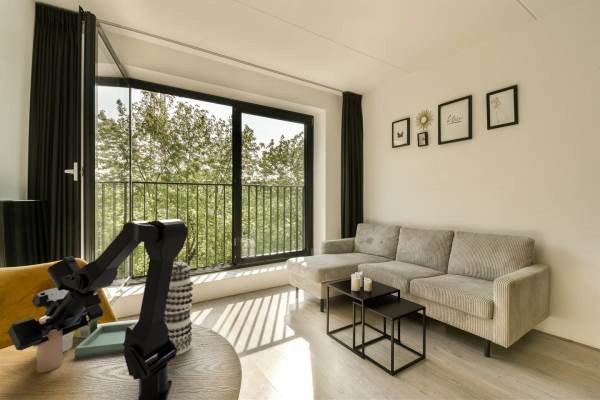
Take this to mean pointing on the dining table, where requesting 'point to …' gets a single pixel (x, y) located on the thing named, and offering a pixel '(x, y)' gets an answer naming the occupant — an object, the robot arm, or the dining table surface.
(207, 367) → the dining table surface
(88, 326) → the crayon box
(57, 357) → the peach rounded cone
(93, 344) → the tray
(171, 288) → the decorative candle
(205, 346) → the dining table surface
